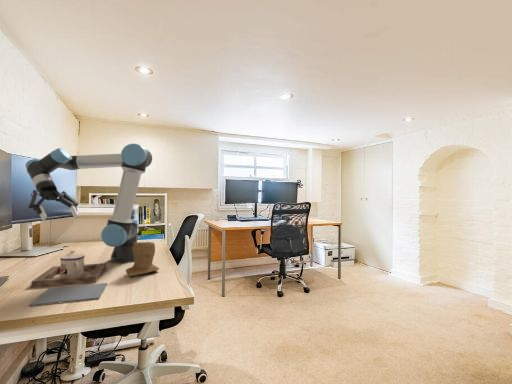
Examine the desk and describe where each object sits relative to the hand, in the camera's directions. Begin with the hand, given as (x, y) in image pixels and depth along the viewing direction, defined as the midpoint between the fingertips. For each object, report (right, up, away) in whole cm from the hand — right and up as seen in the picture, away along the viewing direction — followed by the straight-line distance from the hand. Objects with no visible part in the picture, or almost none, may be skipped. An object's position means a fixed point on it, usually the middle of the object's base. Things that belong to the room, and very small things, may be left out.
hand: (61, 217), depth 120 cm
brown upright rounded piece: (+36, -27, +3) cm, 45 cm away
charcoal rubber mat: (+22, -26, -24) cm, 42 cm away
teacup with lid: (+9, -26, -5) cm, 28 cm away
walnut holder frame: (+9, -26, -5) cm, 28 cm away
